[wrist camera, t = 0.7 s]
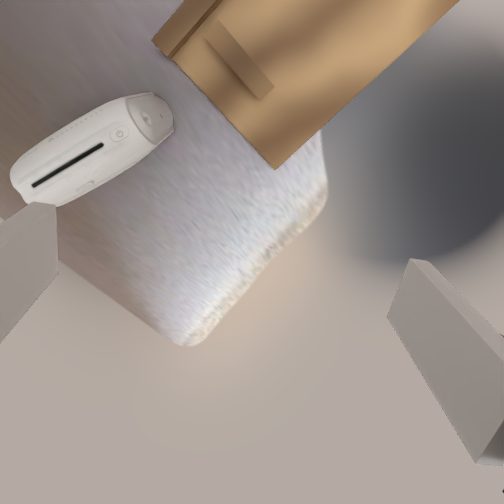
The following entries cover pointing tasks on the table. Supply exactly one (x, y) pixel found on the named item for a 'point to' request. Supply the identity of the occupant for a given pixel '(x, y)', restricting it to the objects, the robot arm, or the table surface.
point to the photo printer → (92, 149)
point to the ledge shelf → (290, 58)
